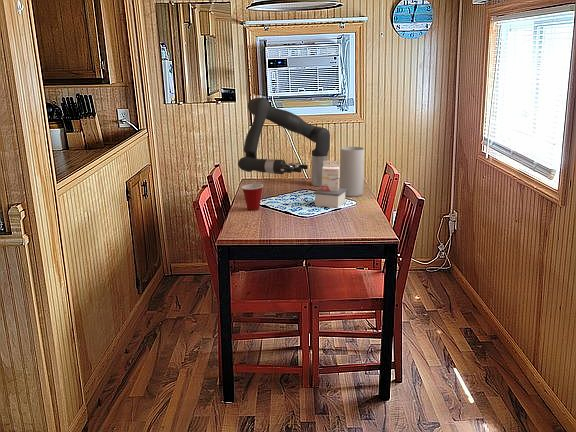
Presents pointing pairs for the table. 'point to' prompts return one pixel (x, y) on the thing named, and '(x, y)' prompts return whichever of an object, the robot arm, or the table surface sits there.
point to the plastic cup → (252, 195)
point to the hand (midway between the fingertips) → (304, 168)
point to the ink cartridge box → (330, 176)
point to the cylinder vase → (352, 170)
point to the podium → (330, 198)
